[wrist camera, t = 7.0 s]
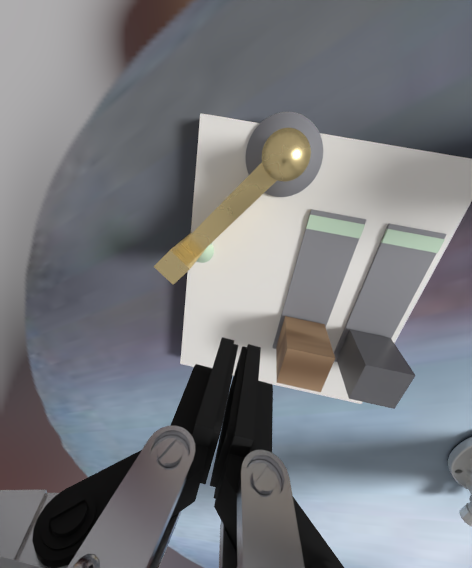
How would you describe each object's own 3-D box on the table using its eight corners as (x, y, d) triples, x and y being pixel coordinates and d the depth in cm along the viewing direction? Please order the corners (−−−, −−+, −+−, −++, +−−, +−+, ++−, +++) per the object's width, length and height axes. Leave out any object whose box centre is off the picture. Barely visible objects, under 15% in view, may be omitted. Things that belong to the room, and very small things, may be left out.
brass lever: (196, 265, 25) (177, 289, 20) (173, 242, 24) (148, 262, 20) (311, 157, 20) (323, 155, 15) (286, 125, 19) (290, 112, 14)
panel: (356, 390, 32) (362, 406, 30) (185, 353, 33) (179, 366, 31) (480, 148, 20) (505, 146, 18) (207, 103, 21) (200, 96, 19)
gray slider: (374, 368, 27) (394, 408, 23) (336, 359, 27) (348, 398, 23) (390, 337, 25) (415, 375, 21) (349, 329, 26) (365, 365, 21)
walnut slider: (313, 354, 27) (320, 392, 23) (276, 346, 28) (276, 382, 23) (324, 324, 26) (335, 358, 21) (285, 316, 26) (287, 348, 21)
